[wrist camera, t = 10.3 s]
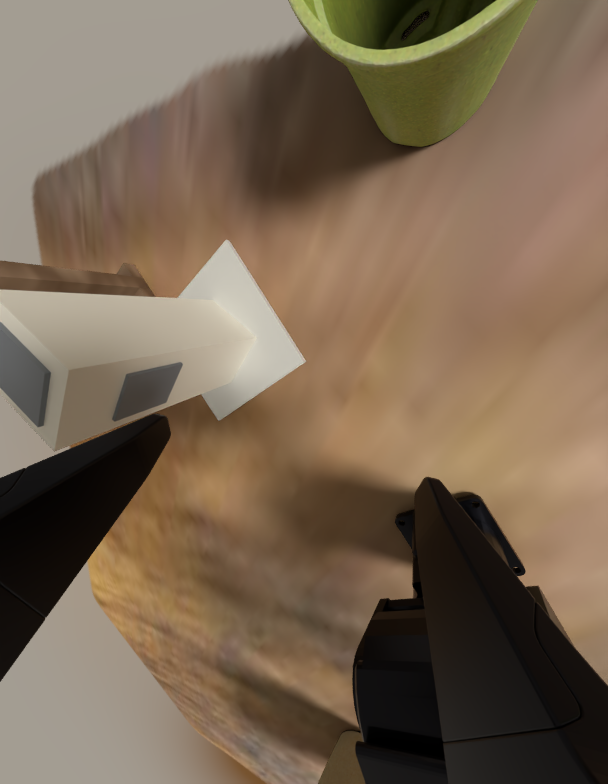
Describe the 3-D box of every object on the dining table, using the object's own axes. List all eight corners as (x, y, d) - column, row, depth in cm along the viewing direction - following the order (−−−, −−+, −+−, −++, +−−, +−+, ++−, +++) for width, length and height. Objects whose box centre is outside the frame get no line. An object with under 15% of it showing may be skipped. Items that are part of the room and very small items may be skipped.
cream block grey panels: (258, 339, 21) (66, 374, 10) (232, 383, 23) (51, 456, 12) (212, 299, 22) (-21, 288, 10) (192, 347, 24) (-19, 382, 12)
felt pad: (306, 361, 21) (304, 362, 20) (221, 419, 26) (218, 421, 25) (229, 240, 20) (226, 239, 20) (158, 324, 25) (155, 324, 25)
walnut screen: (158, 301, 25) (-38, 294, 14) (99, 374, 31) (-64, 408, 21) (134, 264, 25) (-82, 230, 14) (80, 346, 31) (-94, 365, 20)
